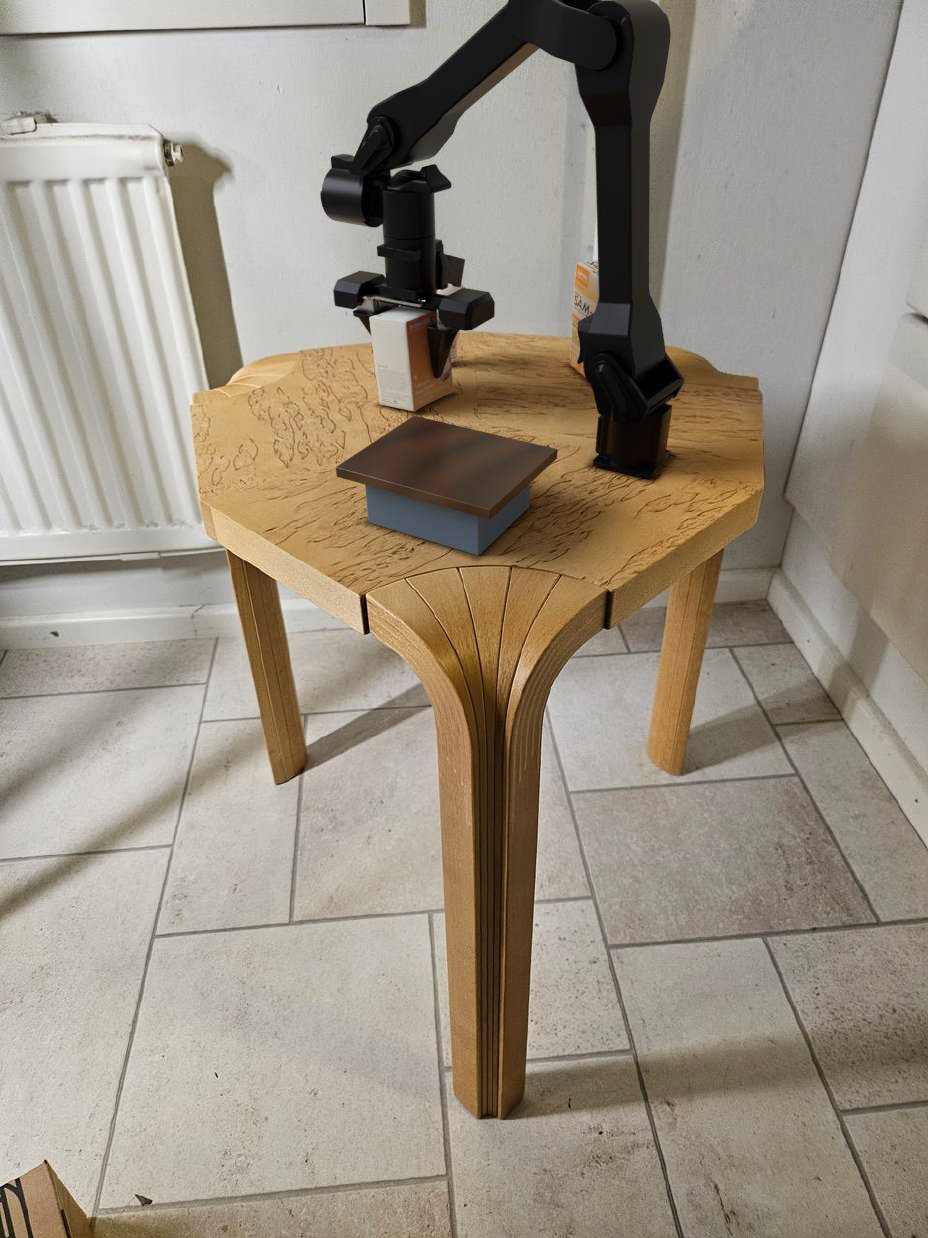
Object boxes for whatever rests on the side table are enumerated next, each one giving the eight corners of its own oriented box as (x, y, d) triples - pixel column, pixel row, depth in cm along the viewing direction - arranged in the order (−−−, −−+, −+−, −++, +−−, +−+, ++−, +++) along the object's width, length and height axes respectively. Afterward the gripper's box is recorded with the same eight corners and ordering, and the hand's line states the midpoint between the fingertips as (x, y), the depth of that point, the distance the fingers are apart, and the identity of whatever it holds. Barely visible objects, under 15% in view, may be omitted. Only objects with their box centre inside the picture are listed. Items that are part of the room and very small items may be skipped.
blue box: (529, 507, 83) (531, 460, 80) (478, 556, 76) (478, 506, 73) (425, 479, 88) (423, 434, 85) (368, 522, 81) (363, 475, 78)
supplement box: (567, 365, 113) (573, 261, 105) (600, 361, 114) (609, 257, 106) (593, 388, 106) (602, 279, 99) (628, 383, 108) (640, 275, 100)
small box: (414, 413, 100) (404, 322, 94) (378, 405, 103) (367, 316, 97) (455, 391, 105) (448, 303, 99) (419, 384, 108) (411, 298, 102)
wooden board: (557, 458, 80) (557, 448, 79) (490, 520, 71) (490, 509, 71) (414, 424, 87) (413, 415, 86) (336, 476, 78) (335, 466, 77)
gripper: (519, 227, 95) (515, 364, 104) (381, 209, 102) (389, 338, 112) (468, 250, 87) (469, 396, 97) (323, 229, 95) (337, 366, 104)
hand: (415, 372), depth 102 cm, fingers closed on small box, 6 cm apart
